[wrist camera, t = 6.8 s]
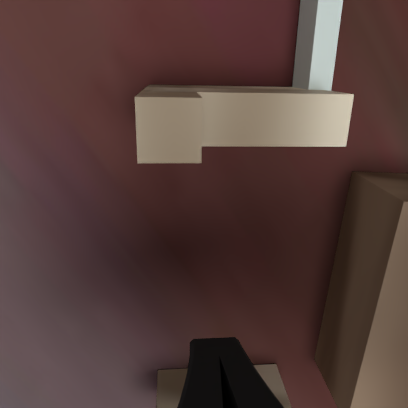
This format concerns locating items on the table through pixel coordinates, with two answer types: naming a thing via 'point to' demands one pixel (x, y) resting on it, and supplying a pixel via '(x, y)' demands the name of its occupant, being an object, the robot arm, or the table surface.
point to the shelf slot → (233, 136)
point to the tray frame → (316, 44)
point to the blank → (369, 297)
